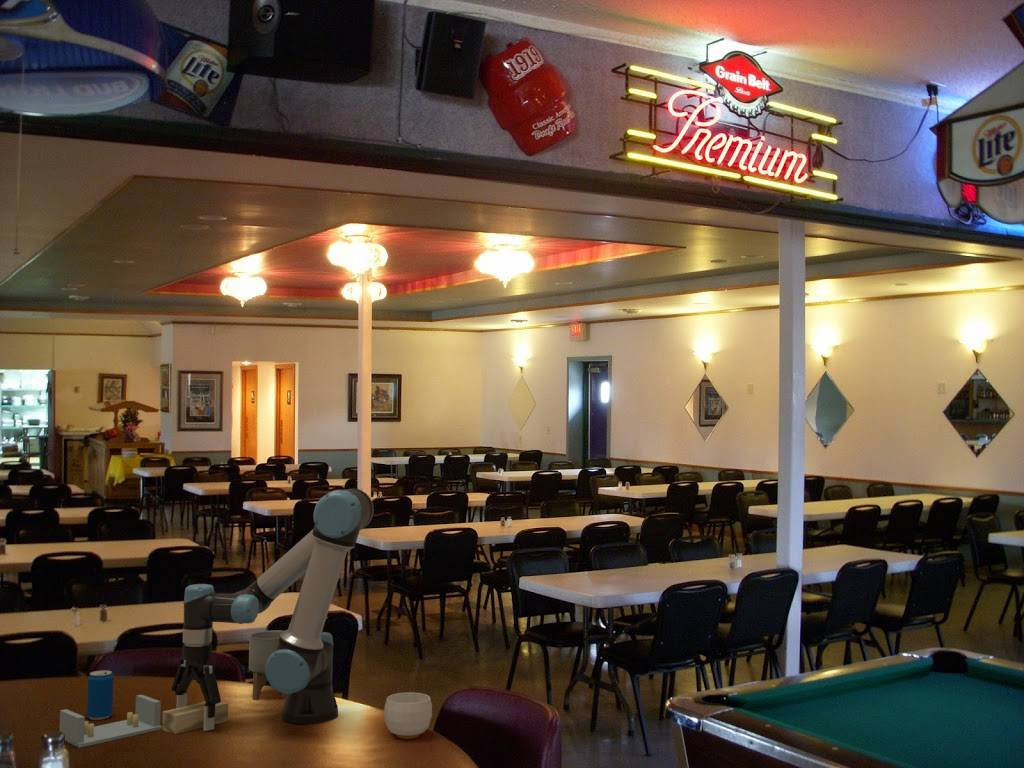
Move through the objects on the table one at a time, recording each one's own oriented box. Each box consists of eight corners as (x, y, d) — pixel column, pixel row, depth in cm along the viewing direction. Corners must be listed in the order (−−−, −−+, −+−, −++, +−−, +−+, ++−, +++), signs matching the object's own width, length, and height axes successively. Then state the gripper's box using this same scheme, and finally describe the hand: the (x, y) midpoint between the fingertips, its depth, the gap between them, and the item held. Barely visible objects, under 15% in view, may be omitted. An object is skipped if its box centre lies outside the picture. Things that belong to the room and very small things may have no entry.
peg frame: (161, 729, 270) (162, 702, 270) (79, 747, 253) (80, 718, 254) (138, 720, 278) (139, 693, 278) (57, 737, 261) (58, 709, 262)
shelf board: (227, 722, 278) (228, 703, 278) (175, 735, 266) (175, 715, 266) (214, 718, 282) (214, 699, 282) (162, 731, 269) (162, 711, 270)
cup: (412, 745, 258) (412, 706, 259) (374, 737, 265) (374, 699, 265) (441, 733, 269) (441, 696, 269) (403, 726, 275) (404, 689, 276)
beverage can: (117, 715, 282) (118, 671, 283) (101, 721, 276) (102, 676, 276) (98, 713, 284) (99, 669, 285) (81, 719, 278) (82, 674, 279)
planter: (270, 703, 296) (271, 640, 297) (238, 696, 303) (240, 635, 304) (302, 693, 307) (303, 633, 308) (270, 687, 314) (272, 628, 315)
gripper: (236, 648, 269) (233, 731, 268) (185, 634, 286) (182, 712, 285) (210, 653, 264) (207, 737, 263) (160, 638, 280) (157, 717, 279)
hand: (194, 724), depth 274 cm, fingers open, 13 cm apart
